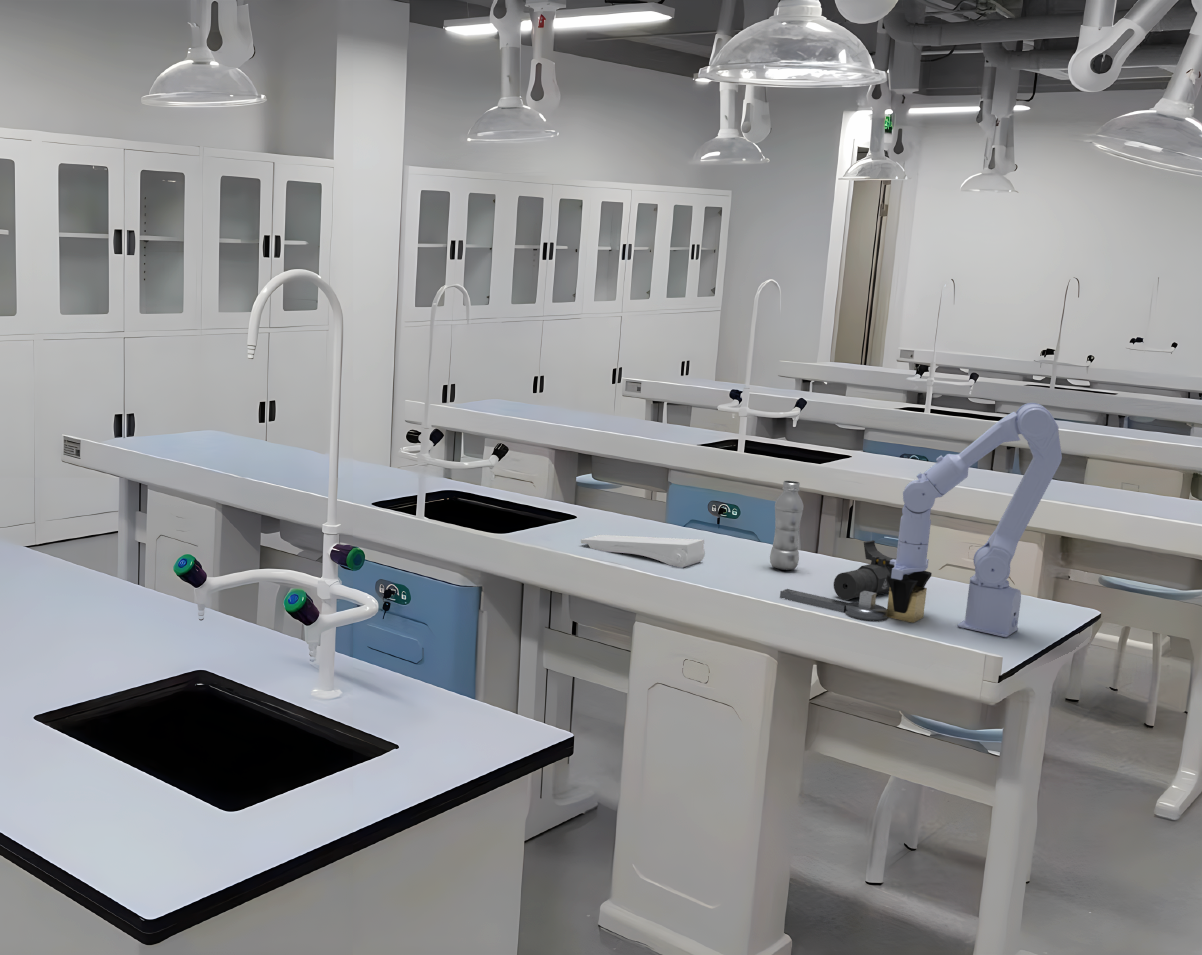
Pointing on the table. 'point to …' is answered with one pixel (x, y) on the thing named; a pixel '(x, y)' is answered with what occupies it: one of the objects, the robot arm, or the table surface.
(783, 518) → the plastic bottle
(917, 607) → the wood grain cube
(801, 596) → the ratchet
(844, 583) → the laser sight
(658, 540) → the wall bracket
